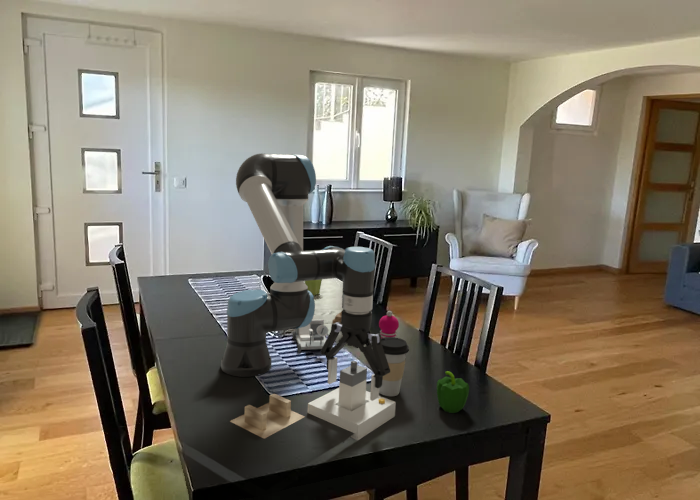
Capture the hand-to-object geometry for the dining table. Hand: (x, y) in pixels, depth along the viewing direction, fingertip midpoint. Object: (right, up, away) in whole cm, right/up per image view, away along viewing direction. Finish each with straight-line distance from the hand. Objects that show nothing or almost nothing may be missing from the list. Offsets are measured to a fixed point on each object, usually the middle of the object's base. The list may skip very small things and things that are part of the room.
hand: (352, 390), depth 141 cm
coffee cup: (+11, -5, +17) cm, 20 cm away
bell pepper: (+27, -7, +8) cm, 29 cm away
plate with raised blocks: (-21, -7, -4) cm, 23 cm away
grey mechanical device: (-14, +2, +50) cm, 52 cm away
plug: (0, -6, +1) cm, 6 cm away
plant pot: (-18, +15, +114) cm, 116 cm away
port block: (0, -7, +1) cm, 7 cm away
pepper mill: (+10, -2, +29) cm, 31 cm away
